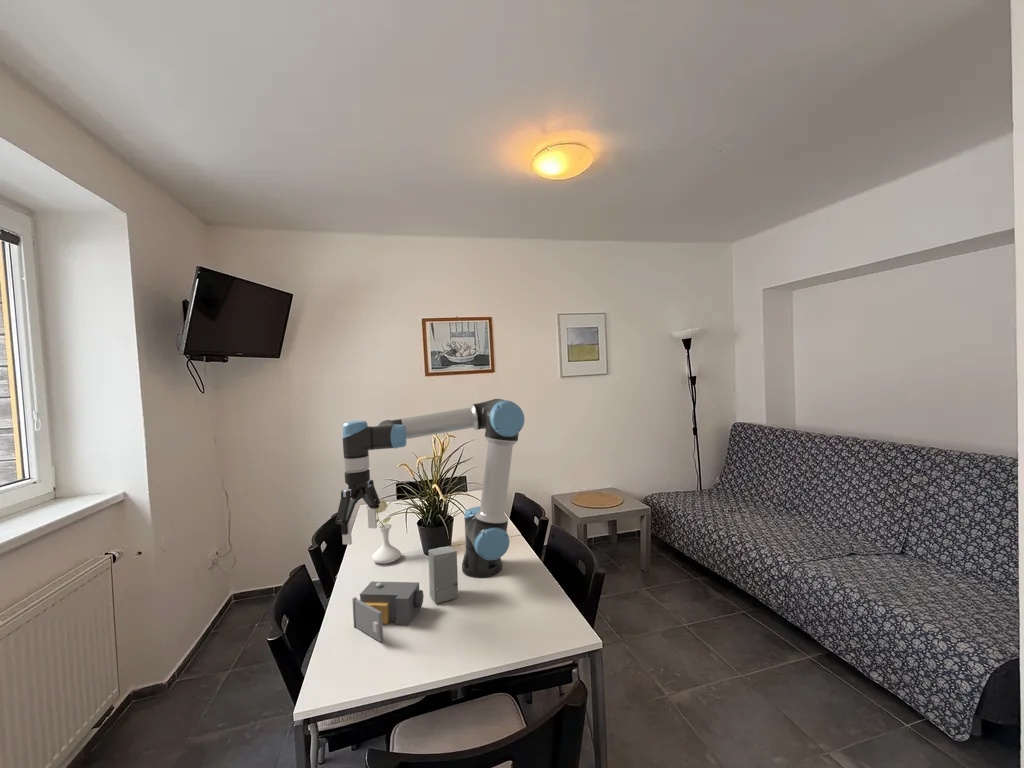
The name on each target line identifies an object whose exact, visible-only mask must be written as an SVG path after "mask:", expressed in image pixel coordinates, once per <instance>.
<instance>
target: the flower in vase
mask: <svg viewBox="0 0 1024 768" xmlns="http://www.w3.org/2000/svg"><path fill="white" fill-rule="evenodd" d="M379 500H380V504H379V508H376V521H377V523H378V522H379V523H380V525H379V526H378V529H379V530H380V532H381V535H382V544H381V546H380V547H379V548H378V549H376V551H375V552H374V553H373V554H372V556H371V561H373V562H374V563H376V564H389V563H393V562H396V561H397V560H399V558H401V556H402V552H401V551H400V550H399V549H398V547H395V546H393V545H392V544H390V541H389V534H390V529H391V528H392V526H393V525H392V524H390V523H388V522H389V521H390V520H391V517H392V516H389V517H387V518H385V519H383V522H382V521H381V520H380V518H379V514H381V513H383V512H385V511H387V508H388V507H389V506H388V503H387V501H385V499H382V498H379ZM366 505H367V504H366ZM368 508H370V507H369V506H368V505H367V506H366V509H368Z"/></svg>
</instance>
